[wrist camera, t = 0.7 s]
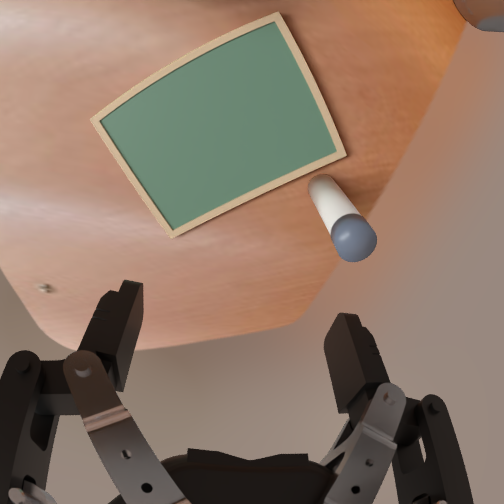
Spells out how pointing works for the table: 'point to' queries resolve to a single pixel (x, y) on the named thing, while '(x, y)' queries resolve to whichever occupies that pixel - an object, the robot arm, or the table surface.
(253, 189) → the slate
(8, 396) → the robot arm
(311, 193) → the marker
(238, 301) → the table surface
